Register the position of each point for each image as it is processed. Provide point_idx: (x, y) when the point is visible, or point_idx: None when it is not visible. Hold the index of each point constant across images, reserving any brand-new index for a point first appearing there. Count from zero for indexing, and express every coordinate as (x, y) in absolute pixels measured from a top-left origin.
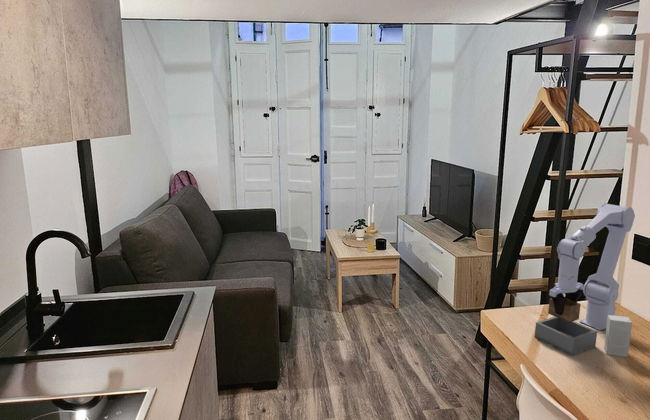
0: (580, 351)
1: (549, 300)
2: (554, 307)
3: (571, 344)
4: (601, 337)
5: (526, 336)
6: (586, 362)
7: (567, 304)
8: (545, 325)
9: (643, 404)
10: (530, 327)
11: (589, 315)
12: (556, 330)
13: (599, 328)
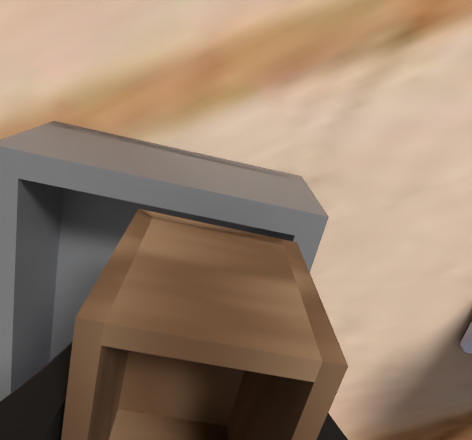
0: None
1: (89, 297)
2: (54, 358)
3: None
4: (371, 373)
5: (12, 71)
6: None
7: (263, 428)
8: (12, 231)
9: None
10: (182, 13)
11: None
12: (10, 324)
13: (469, 345)
